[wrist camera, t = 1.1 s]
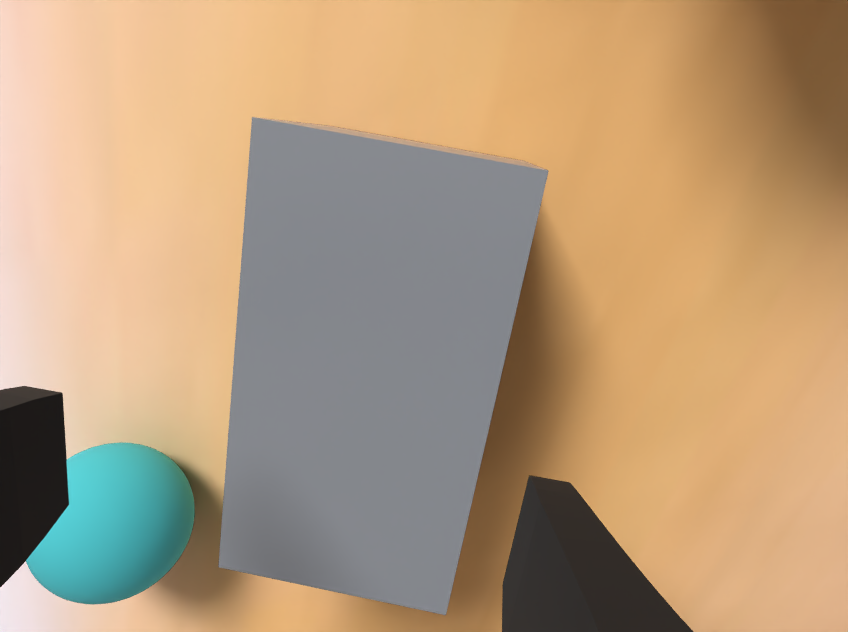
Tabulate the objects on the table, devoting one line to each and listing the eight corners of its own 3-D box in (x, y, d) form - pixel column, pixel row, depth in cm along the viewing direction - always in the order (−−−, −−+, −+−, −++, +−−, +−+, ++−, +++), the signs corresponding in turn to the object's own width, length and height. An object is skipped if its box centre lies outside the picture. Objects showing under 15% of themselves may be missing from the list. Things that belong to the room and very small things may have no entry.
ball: (246, 496, 21) (178, 599, 16) (151, 554, 22) (63, 666, 18) (157, 392, 20) (58, 469, 15) (63, 459, 21) (-55, 549, 17)
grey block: (455, 478, 20) (445, 615, 14) (292, 446, 20) (218, 567, 15) (524, 161, 17) (548, 170, 11) (329, 125, 17) (252, 116, 11)
